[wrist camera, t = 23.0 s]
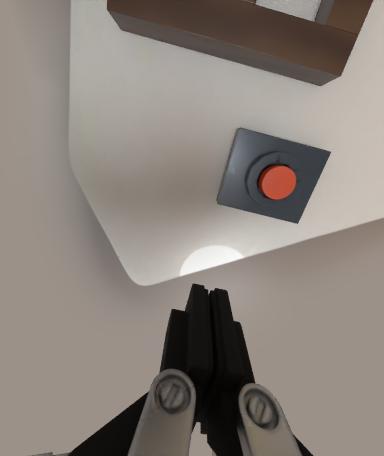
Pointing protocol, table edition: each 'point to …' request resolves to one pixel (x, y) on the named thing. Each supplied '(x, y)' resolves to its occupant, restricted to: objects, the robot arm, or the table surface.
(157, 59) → the table surface
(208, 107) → the table surface
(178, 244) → the table surface
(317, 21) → the dock
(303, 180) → the dark grey flat piece
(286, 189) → the button
